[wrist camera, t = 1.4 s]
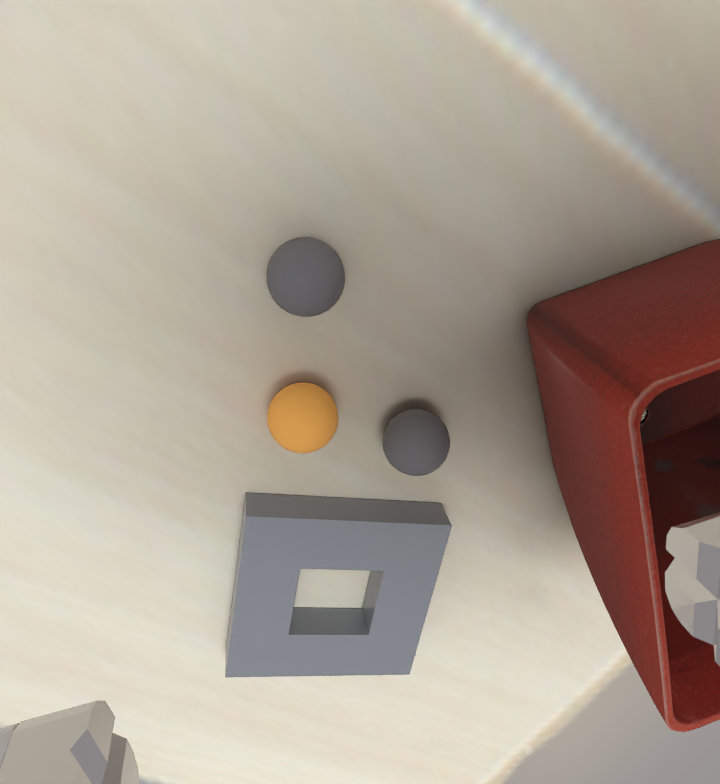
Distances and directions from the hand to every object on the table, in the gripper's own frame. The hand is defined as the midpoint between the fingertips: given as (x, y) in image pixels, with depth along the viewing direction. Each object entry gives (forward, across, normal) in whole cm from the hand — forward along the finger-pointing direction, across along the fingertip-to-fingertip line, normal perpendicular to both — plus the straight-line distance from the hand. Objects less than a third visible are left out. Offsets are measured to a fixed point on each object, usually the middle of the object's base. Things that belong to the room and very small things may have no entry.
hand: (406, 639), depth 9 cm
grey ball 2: (+25, -6, +12) cm, 29 cm away
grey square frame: (+27, +1, +22) cm, 35 cm away
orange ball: (+25, 0, +9) cm, 27 cm away
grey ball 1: (+25, -2, +1) cm, 25 cm away
